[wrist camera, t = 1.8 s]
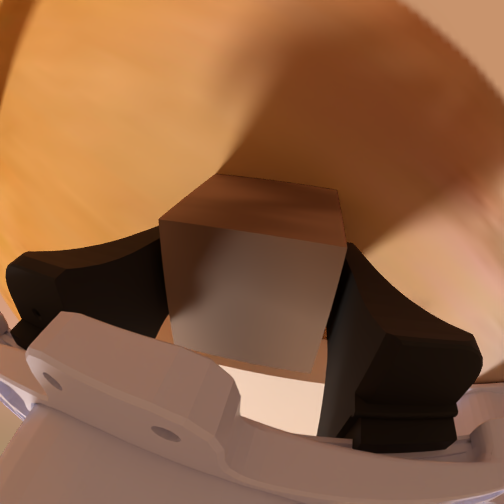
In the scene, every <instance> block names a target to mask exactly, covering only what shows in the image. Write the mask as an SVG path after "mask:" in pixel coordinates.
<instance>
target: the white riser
mask: <svg viewBox="0 0 504 504" xmlns="http://www.w3.org/2000/svg"><path fill="white" fill-rule="evenodd" d="M155 339H157V340H161V341H164V342H168V343H171V344H174V341H173V335H172V329H171V323H170V316H169V314H168V316H167V317H166V319H165V321H164V322H163V324H162V326H161V328H160V330H159V332H158V334H157V336H156V338H155ZM189 350H190V349H189ZM192 351H194V350H192ZM194 352H196V353H199V354H201V355H203V356H206V357H208V358H211V359H212V360H213V361H214V362H215V363H216V364H218V365H219V366H220V367H221V368H222V369H224V370H225V371H226V372H227V373H228V374H230V375H231V376H232V377H233V378H234V380H235V383H236V385H237V388H238V390H239V393H240V395H241V404H240V414H241V416H243V417H246V418H249V419H251V420H254V421H257V422H260V423H263V424H265V425H268V426H271V427H274V428H277V429H280V430H283V431H287V432H290V433H295V434H303V435H311V436H316V435H317V430H318V425H319V419H320V413H321V407H322V400H323V393H324V385H325V377H326V367H327V340H326V339H322V340H321V343H320V346H319V349H318V352H317V355H316V358H315V361H314V364H313V367H312V370H311V373H310V374H309V373H303V372H296V371H290V370H284V369H278V368H272V367H267V366H262V365H256V364H251V363H246V362H242V361H237V360H232V359H228V358H223V357H219V356H215V355H210V354H206V353H202V352H198V351H194Z"/></svg>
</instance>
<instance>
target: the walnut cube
mask: <svg viewBox="0 0 504 504" xmlns="http://www.w3.org/2000/svg"><path fill="white" fill-rule="evenodd" d="M159 232H160V243H161V253H162V262H163V271H164V280H165V288H166V295H167V302H168V309H169V316H170V323H171V329H172V335H173V341H174V344H175V345H178V346H182V347H185V348H187V349H190V350H194V351H198V352H202V353H206V354H210V355H215V356H219V357H223V358H228V359H232V360H237V361H242V362H246V363H251V364H256V365H262V366H267V367H272V368H278V369H284V370H290V371H296V372H303V373H309V374H310V373H311V370H312V367H313V364H314V361H315V358H316V355H317V352H318V349H319V346H320V343H321V340H322V337H323V334H324V330H325V327H326V324H327V321H328V317H329V314H330V311H331V307H332V304H333V300H334V297H335V293H336V290H337V286H338V282H339V279H340V275H341V271H342V267H343V263H344V259H345V255H346V251H347V243H346V236H345V231H344V225H343V219H342V214H341V208H340V203H339V198H338V193H337V190H333V189H327V188H321V187H315V186H309V185H302V184H295V183H288V182H281V181H274V180H266V179H258V178H249V177H240V176H231V175H221V174H215V175H213V176H212V177H211V178H209V179H208V180H207V181H205V182H204V183H203V184H202V185H200V186H199V187H198V188H196V189H195V190H194V191H193V192H191V193H190V194H189V195H188V196H186V197H185V198H184V199H183V200H181V201H180V202H179V203H178V204H176V205H175V206H174V207H173V208H171V209H170V210H169V211H168V212H167V213H165V214H164V215H163V216H162V217H160V218H159Z"/></svg>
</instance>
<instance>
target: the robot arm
mask: <svg viewBox="0 0 504 504" xmlns="http://www.w3.org/2000/svg"><path fill="white" fill-rule="evenodd" d="M346 243H347V251H346V255H345V259H344V263H343V267H342V271H341V275H340V279H339V282H338V286H337V290H336V293H335V297H334V300H333V304H332V307H331V311H330V314H329V317H328V321H327V324H326V328H327V367H326V377H325V385H324V393H323V400H322V407H321V413H320V419H319V425H318V430H317V435H316V436H311V435H303V434H295V433H290V432H287V431H283V430H280V429H277V428H274V427H271V426H268V425H265V424H263V423H260V422H257V421H254V420H251V419H249V418H246V417H243V416H241V414H240V404H241V395H240V393H239V390H238V388H237V385H236V383H235V380H234V378H233V377H232V376H231V375H230V374H228V373H227V372H226V371H225V370H224V369H222V368H221V367H220V366H219V365H218V364H216V363H215V362H214V361H213V360H212V359H211V358H208V357H206V356H203V355H201V354H199V353H196V352H194V351H192V350H189V349H187V348H185V347H182V346H178V345H175V344H171V343H168V342H164V341H161V340H157V339H155V338H156V336H157V334H158V332H159V330H160V328H161V326H162V324H163V322H164V321H165V319H166V317H167V316H168V314H169V309H168V302H167V295H166V288H165V280H164V271H163V262H162V253H161V243H160V232H159V226H157V227H154V228H151V229H149V230H146V231H143V232H140V233H137V234H135V235H132V236H129V237H126V238H123V239H119V240H116V241H112V242H108V243H104V244H100V245H95V246H89V247H84V248H78V249H71V250H61V251H36V252H30V251H28V252H25V253H23V254H22V255H21V256H19V257H18V258H17V259H15V260H14V261H13V262H12V263H10V264H9V265H8V266H7V269H6V282H7V286H8V289H9V292H10V294H11V296H12V299H13V301H14V303H15V305H16V308H17V310H18V312H19V314H20V316H21V318H22V320H21V321H20V322H19V323H18V324H17V325H16V326H15V327H14V328H13V329H12V330H11V329H10V328H9V327H8V324H7V321H6V320H5V318H4V316H3V314H2V313H1V312H0V401H1V402H2V403H3V404H4V405H5V406H6V407H7V408H9V409H10V410H11V411H12V412H13V413H14V414H15V415H16V416H18V417H19V418H20V419H21V420H22V421H23V422H22V424H21V425H20V427H19V428H18V430H17V431H16V433H15V434H14V436H13V437H12V439H11V441H10V442H9V444H8V445H7V447H6V449H5V450H4V451H3V453H2V455H1V456H0V504H504V383H490V384H473V383H474V382H475V380H476V379H477V377H478V376H479V374H480V371H481V369H482V366H483V357H482V355H481V352H480V350H479V347H478V345H477V343H476V340H475V338H474V336H473V334H470V333H468V332H466V331H464V330H462V329H459V328H457V327H455V326H453V325H450V324H448V323H446V322H445V321H443V320H441V319H439V318H437V317H435V316H434V315H432V314H430V313H429V312H427V311H425V310H424V309H422V308H421V307H419V306H418V305H417V304H415V303H414V302H412V301H411V300H409V299H408V298H407V297H405V296H404V295H403V294H402V293H401V292H399V291H398V290H397V289H396V288H395V287H393V286H392V285H391V284H390V283H389V282H388V281H387V280H386V279H385V278H384V277H383V276H382V275H381V274H380V273H379V272H378V271H377V270H376V269H375V268H374V267H373V266H372V264H371V263H370V262H369V261H368V260H367V259H366V258H365V257H364V255H363V254H362V253H361V252H360V251H359V250H358V248H357V247H356V246H355V245H354V244H353V243H348V242H346Z"/></svg>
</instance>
